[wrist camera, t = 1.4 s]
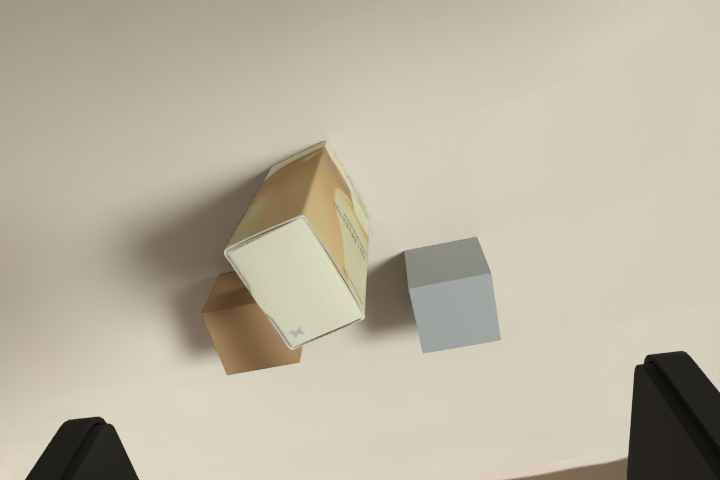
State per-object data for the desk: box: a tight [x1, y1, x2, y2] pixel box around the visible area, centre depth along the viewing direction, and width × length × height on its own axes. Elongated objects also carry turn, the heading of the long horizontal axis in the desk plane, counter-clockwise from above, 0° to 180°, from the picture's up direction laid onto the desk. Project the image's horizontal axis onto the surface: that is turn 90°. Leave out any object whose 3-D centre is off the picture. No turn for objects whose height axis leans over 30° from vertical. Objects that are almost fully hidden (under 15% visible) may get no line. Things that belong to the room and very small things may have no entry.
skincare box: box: [224, 141, 370, 350], centre depth 31 cm, size 6×4×12 cm
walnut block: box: [201, 271, 303, 375], centre depth 38 cm, size 5×5×5 cm
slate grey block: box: [404, 237, 501, 353], centre depth 37 cm, size 5×5×5 cm
